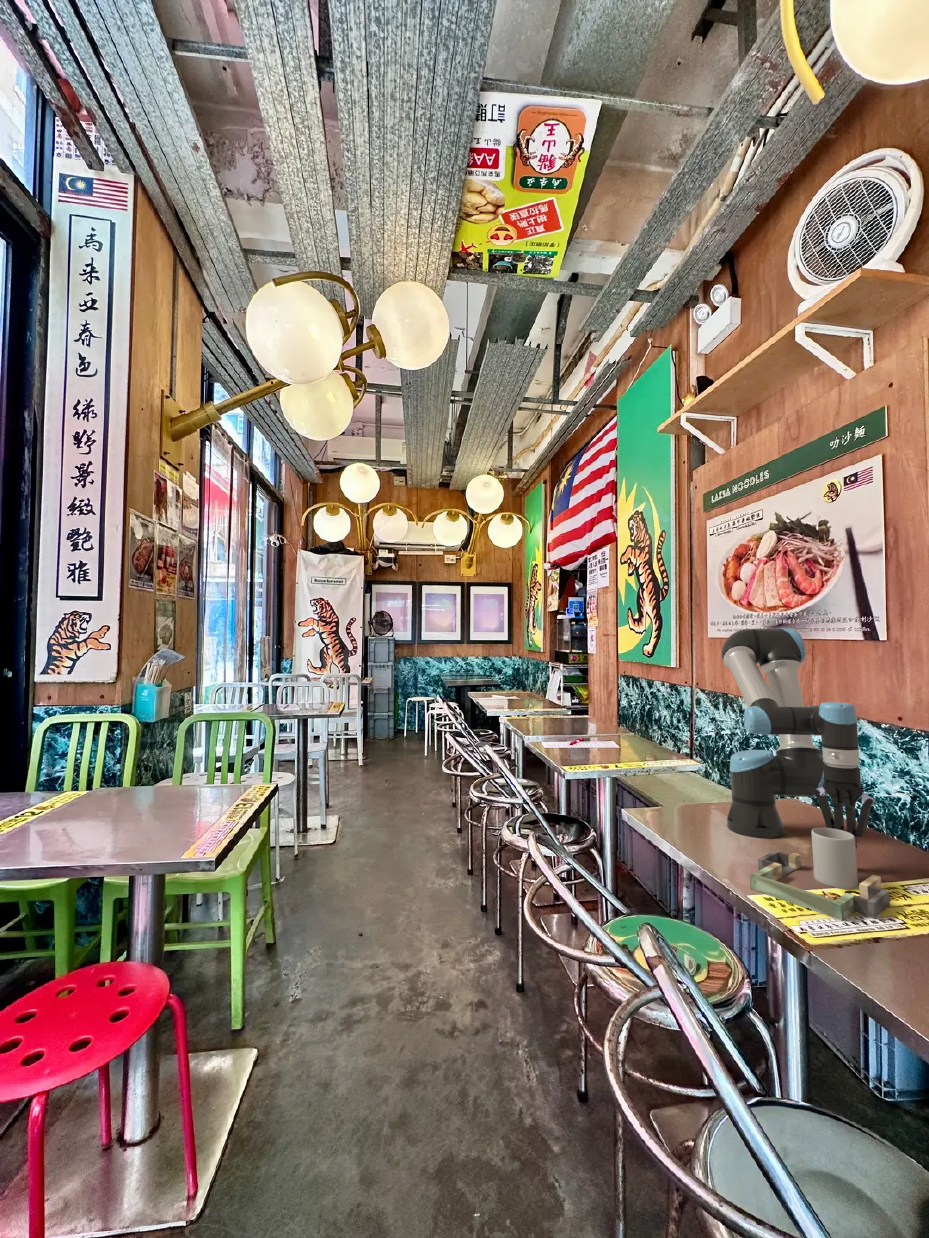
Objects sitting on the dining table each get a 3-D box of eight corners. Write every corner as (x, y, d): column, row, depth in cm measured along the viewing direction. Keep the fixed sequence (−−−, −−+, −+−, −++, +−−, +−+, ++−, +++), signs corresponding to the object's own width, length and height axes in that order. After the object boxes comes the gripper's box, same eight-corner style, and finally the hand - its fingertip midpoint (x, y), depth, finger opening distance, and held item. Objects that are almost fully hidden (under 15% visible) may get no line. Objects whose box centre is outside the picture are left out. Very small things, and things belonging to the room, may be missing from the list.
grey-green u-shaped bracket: (779, 860, 134) (779, 848, 135) (901, 896, 114) (900, 882, 114) (735, 883, 122) (734, 870, 122) (862, 927, 101) (861, 911, 102)
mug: (863, 891, 116) (860, 841, 117) (818, 885, 120) (815, 837, 121) (848, 871, 127) (845, 825, 128) (807, 866, 131) (804, 821, 132)
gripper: (805, 762, 133) (811, 857, 132) (867, 771, 123) (874, 874, 121) (818, 759, 138) (824, 850, 136) (878, 767, 127) (885, 866, 125)
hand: (847, 861), depth 128 cm, fingers closed
